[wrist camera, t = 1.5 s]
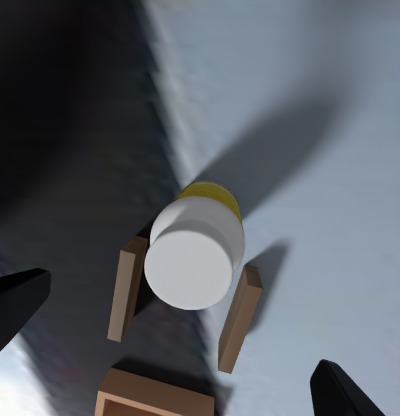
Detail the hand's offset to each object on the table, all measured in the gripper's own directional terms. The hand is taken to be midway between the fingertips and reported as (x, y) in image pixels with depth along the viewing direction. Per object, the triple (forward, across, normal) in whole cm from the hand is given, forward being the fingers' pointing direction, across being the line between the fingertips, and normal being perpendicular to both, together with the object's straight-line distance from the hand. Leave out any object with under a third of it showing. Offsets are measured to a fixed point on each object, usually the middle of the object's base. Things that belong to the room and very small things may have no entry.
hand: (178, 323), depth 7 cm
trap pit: (+12, 0, +23) cm, 26 cm away
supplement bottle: (+13, 0, 0) cm, 13 cm away
